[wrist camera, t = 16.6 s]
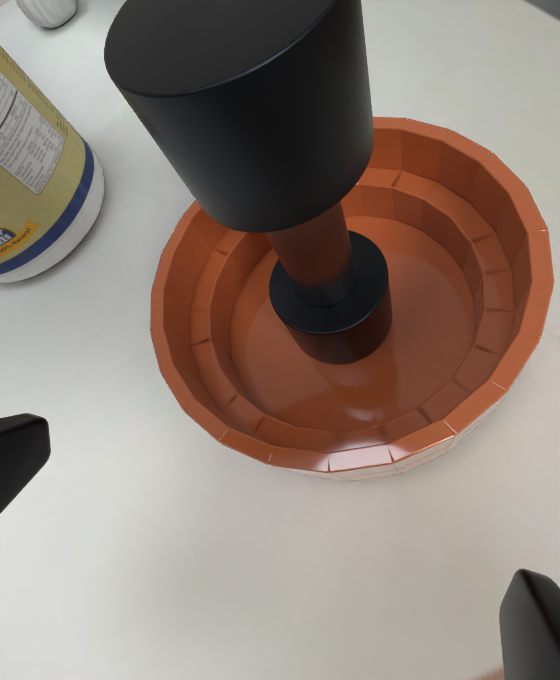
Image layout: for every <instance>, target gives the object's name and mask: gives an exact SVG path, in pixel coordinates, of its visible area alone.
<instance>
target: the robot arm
mask: <svg viewBox="0 0 560 680" xmlns="http://www.w3.org/2000/svg"><path fill="white" fill-rule="evenodd" d="M50 453H51V447H50V436H49V425H48V422H47V420H46V419H45V418H43V417H40V416H37V415H34V414H29V413H24V414H19V415H14V416H9V417H4V418H0V513H1V512H2V511H3V510H4V509H5V508H6V507H7V506H8V505H9V504H10V502H11V501H12V500H13V499H14V498H15V497H16V496H17V495H18V494H19V492H20V491H21V490H22V489H23V488H24V487H25V486H26V485H27V484H28V482H29V481H30V480H31V479H32V478H33V477H34V476H35V475H36V474H37V472H38V471H39V470H40V469H41V468H42V467H43V466H44V465H45V463H46V462H47V461H48V459H49V456H50ZM499 621H500V633H501V644H502V655H503V666H504V677H505V680H560V588H559V587H558V586H557V585H556V583H555V582H554V581H553V580H552V579H550V578H549V577H547V576H545V575H542V574H539V573H536V572H533V571H530V570H526V569H519V570H518V571H516V573H515V574H514V576H513V579H512V581H511V583H510V585H509V587H508V590H507V592H506V594H505V596H504V599H503V601H502V603H501V607H500V613H499Z"/></svg>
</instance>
